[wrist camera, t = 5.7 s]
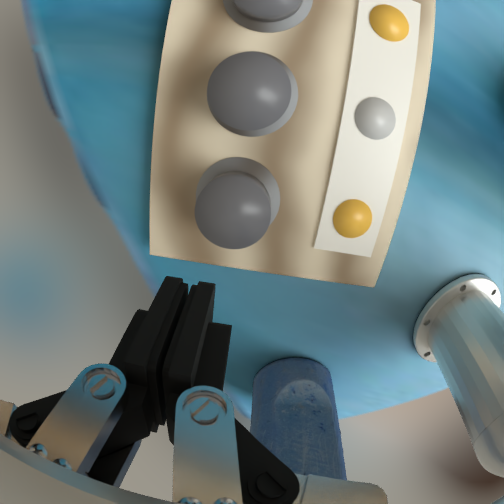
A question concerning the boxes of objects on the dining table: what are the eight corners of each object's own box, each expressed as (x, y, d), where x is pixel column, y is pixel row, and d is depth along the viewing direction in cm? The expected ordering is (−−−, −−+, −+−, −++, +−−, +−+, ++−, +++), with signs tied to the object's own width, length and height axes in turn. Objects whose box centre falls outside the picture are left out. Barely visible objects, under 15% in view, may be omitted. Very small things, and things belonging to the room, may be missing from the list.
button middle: (294, 63, 17) (297, 58, 15) (283, 133, 19) (284, 136, 17) (218, 53, 17) (212, 48, 15) (208, 123, 19) (202, 125, 17)
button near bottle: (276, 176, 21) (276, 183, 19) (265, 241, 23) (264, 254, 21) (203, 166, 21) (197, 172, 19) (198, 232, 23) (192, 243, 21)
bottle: (245, 398, 37) (224, 618, 10) (264, 348, 33) (246, 635, 6) (314, 407, 37) (323, 614, 11) (343, 360, 33) (378, 618, 6)
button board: (425, -9, 15) (436, -16, 13) (368, 275, 28) (374, 288, 26) (193, -54, 15) (187, -64, 13) (157, 244, 28) (149, 255, 26)
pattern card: (419, 4, 15) (421, 3, 14) (369, 255, 25) (371, 257, 24) (359, -17, 15) (361, -19, 14) (313, 246, 25) (314, 248, 24)
